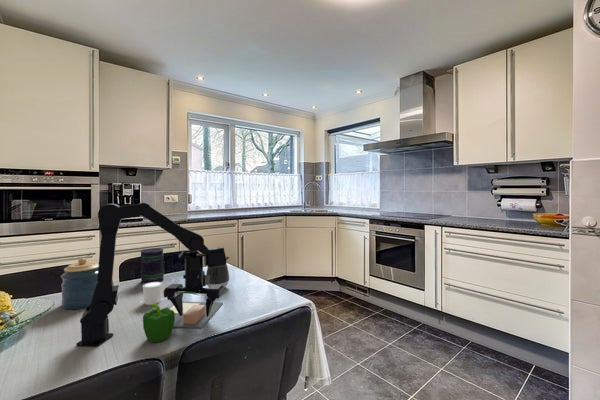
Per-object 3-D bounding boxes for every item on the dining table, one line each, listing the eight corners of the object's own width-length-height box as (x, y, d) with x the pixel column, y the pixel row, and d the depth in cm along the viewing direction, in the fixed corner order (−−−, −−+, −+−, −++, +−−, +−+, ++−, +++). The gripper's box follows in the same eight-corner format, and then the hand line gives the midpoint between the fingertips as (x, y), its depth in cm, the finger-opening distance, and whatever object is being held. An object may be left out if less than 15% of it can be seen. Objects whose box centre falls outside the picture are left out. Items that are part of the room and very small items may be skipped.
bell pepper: (179, 337, 85) (179, 304, 85) (150, 349, 79) (149, 313, 79) (167, 328, 91) (166, 297, 90) (139, 338, 84) (138, 305, 84)
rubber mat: (201, 328, 90) (201, 326, 90) (147, 326, 92) (147, 325, 92) (222, 303, 110) (222, 302, 110) (177, 302, 112) (177, 301, 112)
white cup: (154, 306, 108) (154, 287, 108) (138, 304, 110) (138, 286, 109) (166, 299, 115) (166, 282, 115) (151, 298, 116) (151, 281, 116)
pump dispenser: (224, 292, 122) (223, 257, 122) (201, 291, 124) (201, 256, 123) (233, 285, 132) (233, 252, 132) (212, 284, 134) (211, 251, 133)
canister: (94, 294, 120) (93, 253, 119) (110, 301, 113) (109, 256, 112) (55, 305, 109) (54, 259, 108) (70, 313, 102) (69, 264, 101)
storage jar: (143, 278, 141) (142, 248, 141) (165, 277, 144) (164, 247, 144) (138, 285, 132) (138, 253, 131) (162, 283, 135) (161, 251, 134)
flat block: (195, 324, 93) (195, 314, 93) (183, 323, 93) (183, 314, 93) (205, 313, 101) (205, 305, 101) (194, 313, 101) (193, 304, 101)
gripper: (228, 264, 104) (229, 306, 104) (178, 263, 105) (179, 305, 105) (218, 273, 93) (218, 320, 93) (162, 272, 94) (162, 319, 94)
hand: (194, 315), depth 97 cm, fingers open, 9 cm apart
